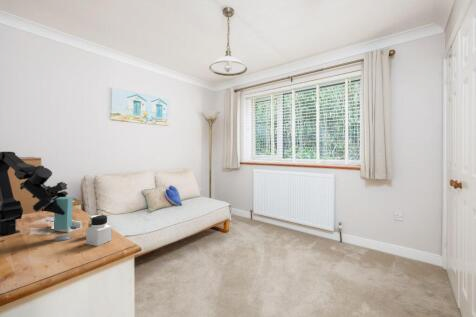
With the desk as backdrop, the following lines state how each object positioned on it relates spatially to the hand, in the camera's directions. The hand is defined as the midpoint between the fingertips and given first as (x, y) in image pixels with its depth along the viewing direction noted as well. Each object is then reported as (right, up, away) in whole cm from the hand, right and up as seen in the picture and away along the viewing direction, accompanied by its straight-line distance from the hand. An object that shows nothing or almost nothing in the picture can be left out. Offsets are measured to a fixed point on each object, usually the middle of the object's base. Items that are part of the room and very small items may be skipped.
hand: (66, 212), depth 103 cm
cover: (-15, -8, +14) cm, 22 cm away
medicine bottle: (+17, -13, -3) cm, 22 cm away
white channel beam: (-10, -11, +12) cm, 19 cm away
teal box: (-2, -7, 0) cm, 7 cm away
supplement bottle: (+10, -12, +4) cm, 17 cm away
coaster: (-2, -12, 0) cm, 12 cm away
